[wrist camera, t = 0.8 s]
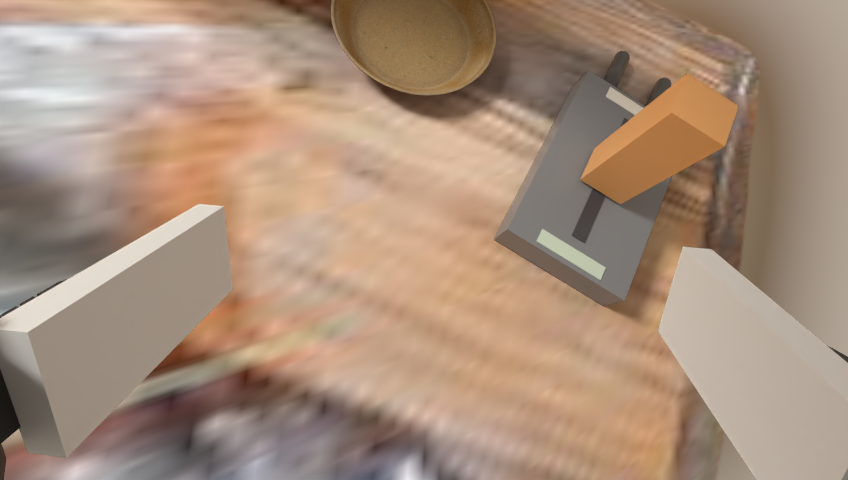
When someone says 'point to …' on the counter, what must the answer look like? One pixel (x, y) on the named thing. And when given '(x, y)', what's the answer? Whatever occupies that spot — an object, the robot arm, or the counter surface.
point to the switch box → (584, 196)
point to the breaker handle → (661, 140)
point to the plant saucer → (417, 41)
